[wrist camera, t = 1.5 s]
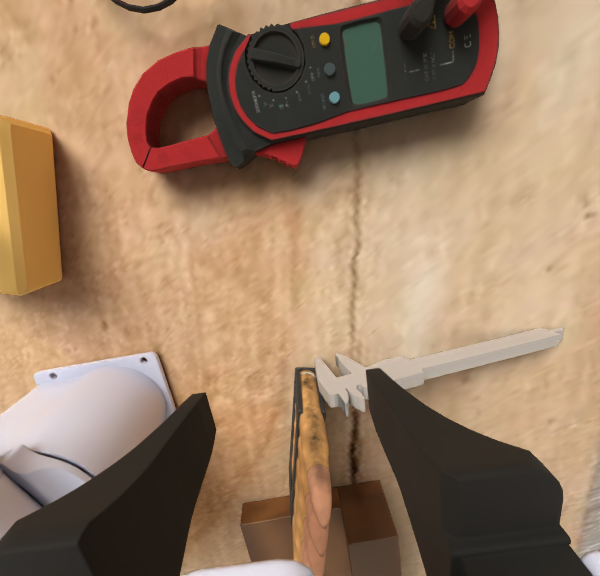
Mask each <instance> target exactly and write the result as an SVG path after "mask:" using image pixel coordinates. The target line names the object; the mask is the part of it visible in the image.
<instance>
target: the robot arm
mask: <svg viewBox="0 0 600 576" xmlns="http://www.w3.org/2000/svg"><path fill="white" fill-rule="evenodd" d="M143 358H146V359H147V361H144V360H143ZM53 373H54V374H56V375H57V376H55V375H54V374H53ZM366 379H367V390H368V400H369V409H370V412H371V416H372V419H373V423H374V426H375V429H376V432H377V434H378V437H379V439H380V441H381V444H382V446H383V449H384V451H385V453H386V456H387V458H388V460H389V463H390V465H391V467H392V470H393V472H394V474H395V477H396V479H397V482H398V485H399V487H400V490H401V493H402V496H403V499H404V503H405V506H406V509H407V512H408V515H409V518H410V522H411V525H412V528H413V531H414V535H415V538H416V541H417V544H418V548H419V551H420V554H421V558H422V561H423V565H424V568H425V571H426V575H427V576H600V550H596V551H591V552H588V553H586V554H584V555H583V556H582V557H581V559H580V558H579V557H578V556H577V554H576V553H575V552H574V551H573V549H572V548H571V547H570V546H569V544H571V540H570V537H569V536H568V534H567V533H566V532H565V531H564V529H563V528H562V527H561V526H560V524H559V523H560V516H561V510H562V503H563V489H562V487H561V485H560V483H559V481H558V480H557V479H556V478H555V477H554V476H553V475H552V474H551V473H550V471H549V470H548V469H547V468H546V467H545V466H544V465H543V464H542V463H541V462H540V461H539V460H538V459H537V458H536V457H535V456H534V455H533V454H532V453H531V452H530V451H528V450H525V449H522V448H519V447H516V446H512V445H509V444H506V443H503V442H500V441H497V440H495V439H492V438H489V437H487V436H484V435H482V434H479V433H477V432H475V431H472V430H470V429H468V428H466V427H464V426H462V425H460V424H458V423H456V422H454V421H452V420H450V419H448V418H446V417H444V416H443V415H441V414H439V413H437V412H436V411H434V410H432V409H431V408H429V407H428V406H426V405H425V404H423V403H422V402H420V401H419V400H418V399H416V398H415V397H414V396H412V395H411V394H410V393H408V392H407V391H406V390H405V389H403V388H402V387H401V386H400V385H399V384H397V383H396V382H395V381H394V380H393V379H392V378H391V377H389V376H388V375H387V374H386V373H385V372H384V371H383V370H382V369H380V368H374V369H367V370H366ZM34 380H35V382H36V384H37V387H36V388H34V389H33V390H32V391H30V392H29V393H28V394H27V395H25V396H24V397H23V398H21V399H20V400H19V401H17V402H16V403H15V404H14V405H12V406H11V407H10V408H8V409H7V410H6V411H4V412H3V413H2V414H1V415H0V576H180V572H181V567H182V562H183V557H184V552H185V546H186V542H187V537H188V533H189V528H190V524H191V519H192V515H193V511H194V508H195V504H196V501H197V498H198V495H199V492H200V489H201V486H202V483H203V479H204V476H205V473H206V470H207V467H208V464H209V461H210V457H211V454H212V450H213V445H214V440H215V434H216V427H215V423H214V420H213V416H212V413H211V409H210V406H209V402H208V399H207V395H206V393H199V394H192V395H191V396H190V397H189V398H188V399H187V400H186V401H185V402H183V403H182V404H181V405H180V406H179V407H178V408H177V409H176V407H175V404H174V401H173V398H172V395H171V392H170V389H169V386H168V383H167V380H166V377H165V374H164V371H163V368H162V365H161V362H160V359H159V356H158V355H157V353H155V352H152V351H150V352H144V353H138V354H133V355H127V356H121V357H115V358H109V359H104V360H98V361H92V362H86V363H81V364H75V365H69V366H63V367H57V368H52V369H46V370H41V371H38V372H37V373H36V374H35V375H34ZM182 576H315V575H314V573H313V572H312V570H311V569H310V568H309V567H308V566H306V565H304V564H302V563H300V562H298V561H296V560H288V559H273V560H265V561H258V562H250V563H242V564H235V565H227V566H220V567H212V568H204V569H198V570H195V571H192V572H189V573H186V574H184V575H182Z"/></svg>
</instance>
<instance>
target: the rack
mask: <svg viewBox="0 0 600 576" xmlns="http://www.w3.org/2000/svg"><path fill="white" fill-rule="evenodd" d="M331 492H332V505H331V516H330V521H329V529H328V541H327V548H326V555H325V567H324V574H323V576H402V572H401V561H400V551H399V541H398V534H397V531H396V528H395V525H394V523H393V520H392V517H391V514H390V511H389V508H388V505H387V502H386V499H385V496H384V493H383V490H382V487H381V484H380V481H379V480H377V481H372V482H366V483H360V484H354V485H349V486H343V487H338V488H331ZM240 526H241V529H242V532H243V536H244V539H245V542H246V546H247V549H248V552H249V555H250V559H251V562H258V561H265V560H273V559H288V560H294V556H293V527H292V526H291V524H290V496H285V497H279V498H274V499H268V500H262V501H256V502H251V503H245V504H243V508H242V516H241V524H240Z"/></svg>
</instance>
